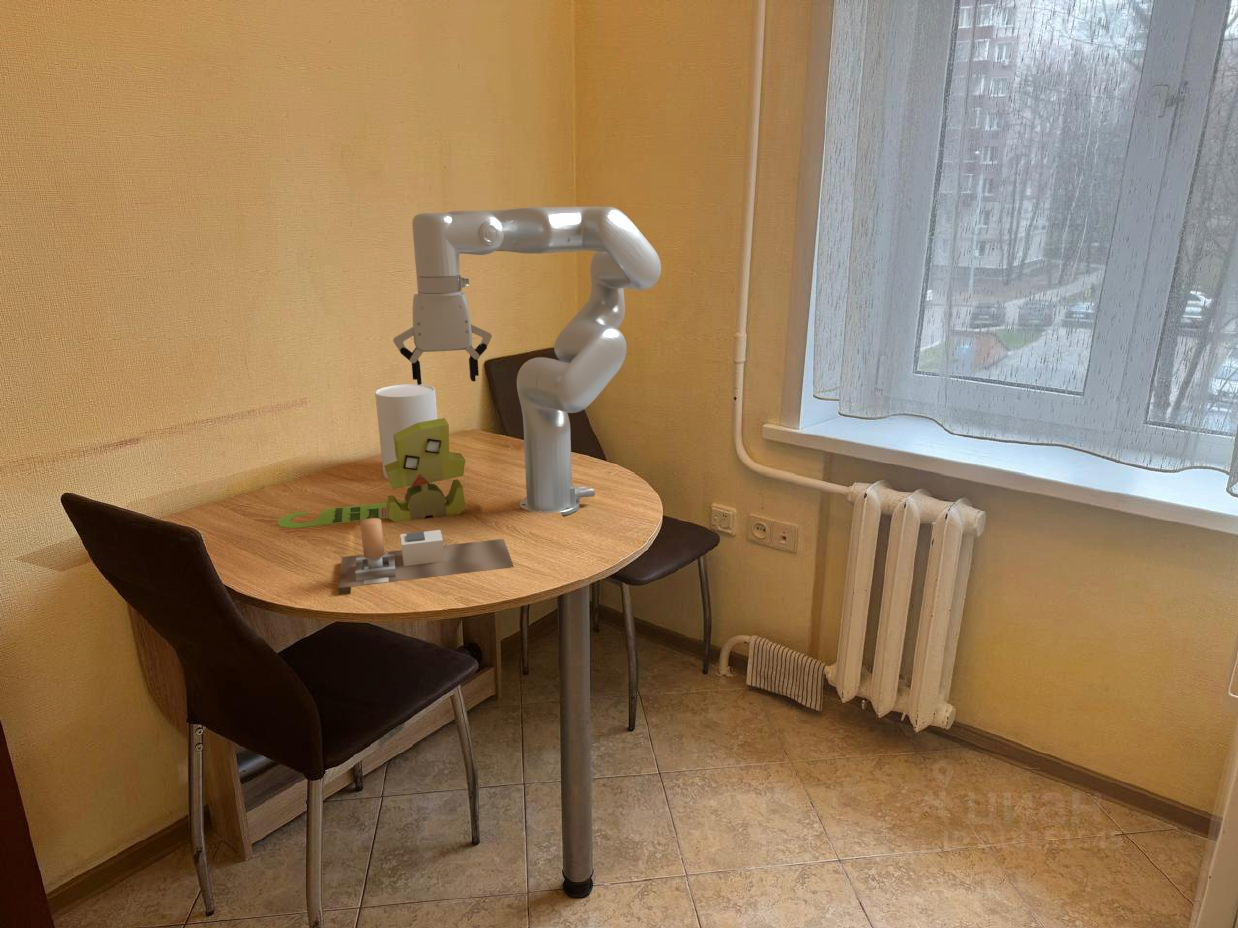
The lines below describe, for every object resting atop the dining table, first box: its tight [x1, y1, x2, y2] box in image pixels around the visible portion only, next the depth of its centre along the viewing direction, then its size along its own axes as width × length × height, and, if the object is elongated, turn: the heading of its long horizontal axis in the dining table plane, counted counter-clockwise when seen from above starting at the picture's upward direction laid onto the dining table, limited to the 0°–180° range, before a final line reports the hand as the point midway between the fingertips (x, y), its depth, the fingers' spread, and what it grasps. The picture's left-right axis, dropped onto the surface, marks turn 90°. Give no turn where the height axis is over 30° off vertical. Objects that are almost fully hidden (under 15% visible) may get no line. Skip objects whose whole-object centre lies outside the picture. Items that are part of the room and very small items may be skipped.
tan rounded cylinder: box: [359, 518, 385, 569], centre depth 141 cm, size 3×3×9 cm
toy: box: [385, 417, 467, 523], centre depth 166 cm, size 16×6×20 cm, turn 110°
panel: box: [338, 538, 515, 595], centre depth 146 cm, size 29×13×3 cm, turn 105°
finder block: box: [400, 529, 445, 566], centre depth 147 cm, size 7×5×4 cm
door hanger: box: [277, 500, 405, 529], centre depth 171 cm, size 9×1×25 cm
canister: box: [374, 383, 439, 480], centre depth 195 cm, size 14×14×20 cm
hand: (446, 381), depth 151 cm, fingers open, 9 cm apart
